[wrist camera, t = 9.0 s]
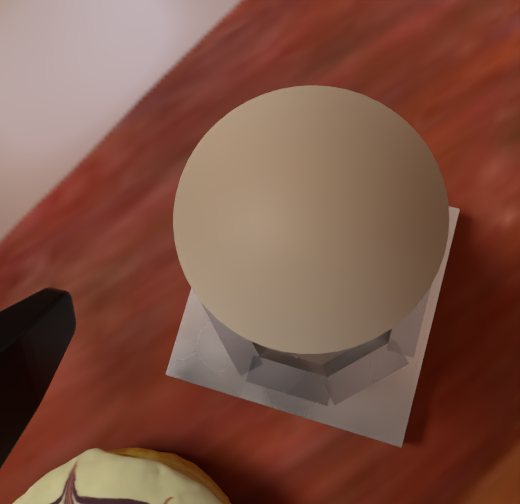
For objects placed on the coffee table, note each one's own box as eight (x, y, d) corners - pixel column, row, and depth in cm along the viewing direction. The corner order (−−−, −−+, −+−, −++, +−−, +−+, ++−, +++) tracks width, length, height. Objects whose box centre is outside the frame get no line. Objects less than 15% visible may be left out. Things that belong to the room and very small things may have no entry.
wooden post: (359, 333, 18) (467, 343, 5) (273, 339, 18) (180, 363, 6) (350, 247, 19) (430, 69, 6) (266, 255, 19) (167, 102, 6)
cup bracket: (397, 442, 18) (427, 482, 14) (171, 372, 19) (132, 388, 15) (453, 213, 19) (499, 182, 15) (234, 158, 20) (216, 114, 16)
